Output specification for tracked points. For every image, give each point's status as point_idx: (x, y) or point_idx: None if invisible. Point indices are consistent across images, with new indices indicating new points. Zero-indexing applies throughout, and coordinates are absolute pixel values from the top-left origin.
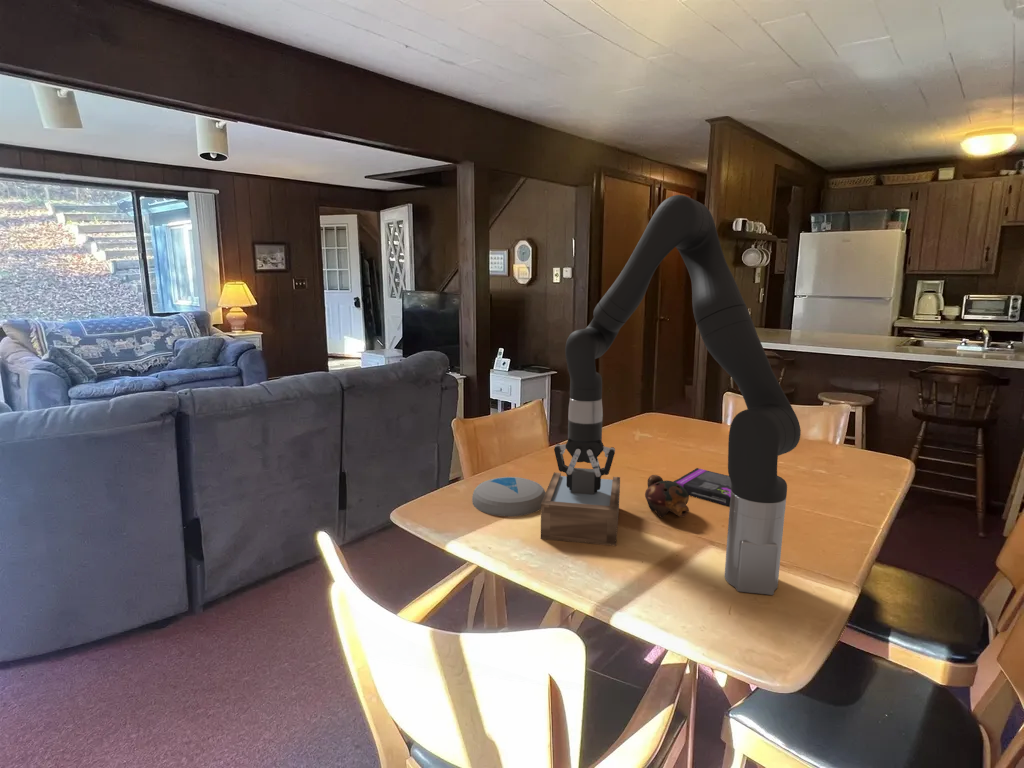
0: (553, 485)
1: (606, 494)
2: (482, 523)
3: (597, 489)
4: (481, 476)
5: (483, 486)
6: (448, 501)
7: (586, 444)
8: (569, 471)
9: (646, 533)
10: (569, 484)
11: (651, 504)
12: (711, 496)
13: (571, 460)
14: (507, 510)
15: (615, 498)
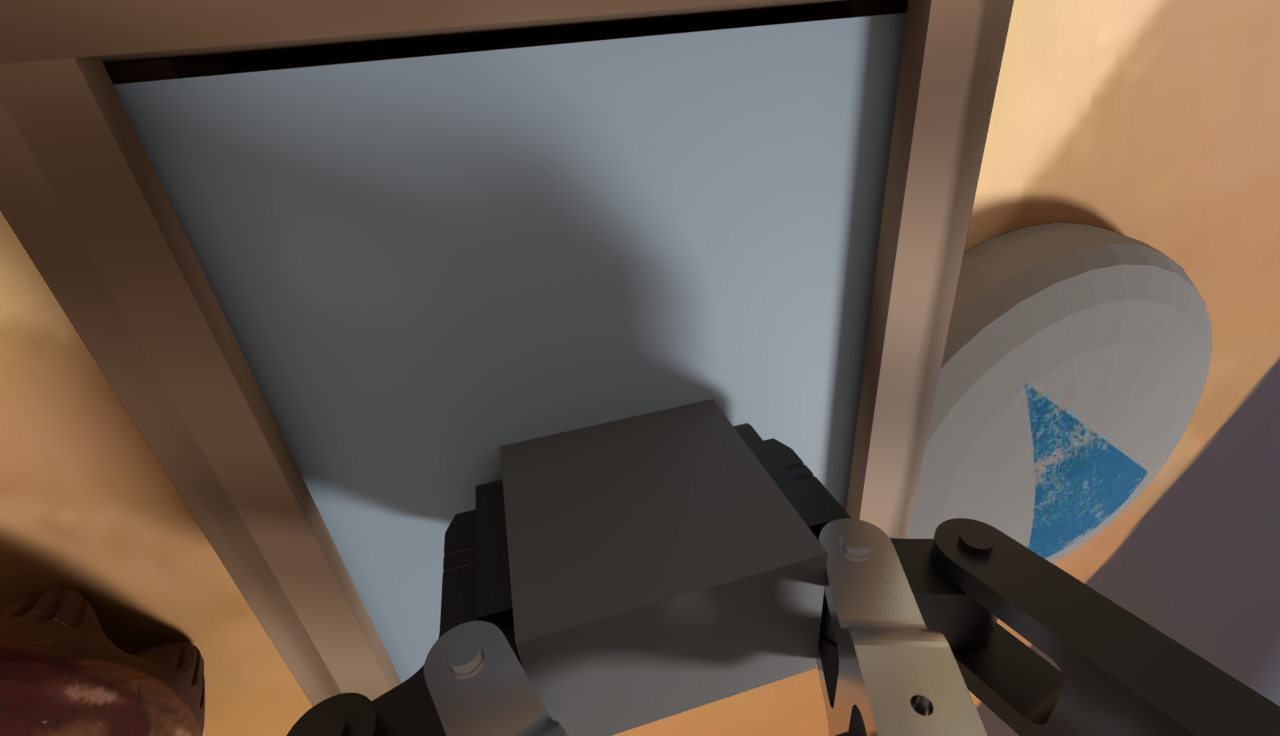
0: (891, 431)
1: (379, 503)
2: (1141, 79)
3: (475, 511)
4: (1083, 576)
5: (1187, 405)
6: (1252, 295)
7: None
8: (860, 556)
9: (23, 321)
10: (771, 452)
11: (93, 648)
12: None
13: (972, 712)
14: (1033, 244)
15: (154, 376)
